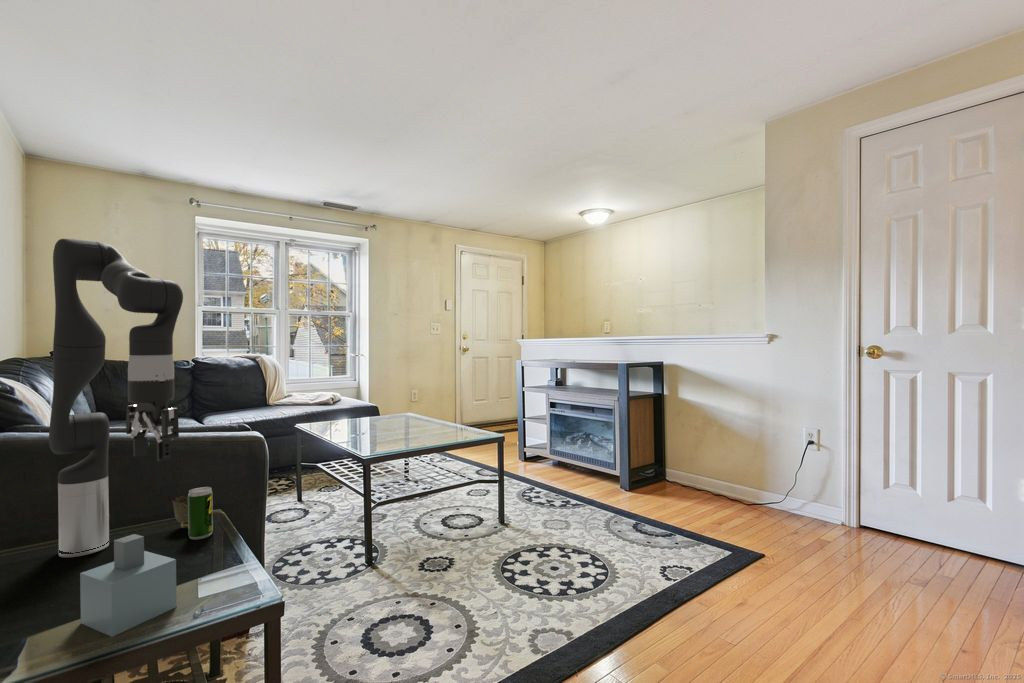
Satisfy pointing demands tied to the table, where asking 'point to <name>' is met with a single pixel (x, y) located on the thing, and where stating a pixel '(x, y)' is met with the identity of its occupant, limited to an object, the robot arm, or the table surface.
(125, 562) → the blue-grey box with knob
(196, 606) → the table surface
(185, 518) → the cup
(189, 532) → the beer can
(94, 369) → the robot arm
